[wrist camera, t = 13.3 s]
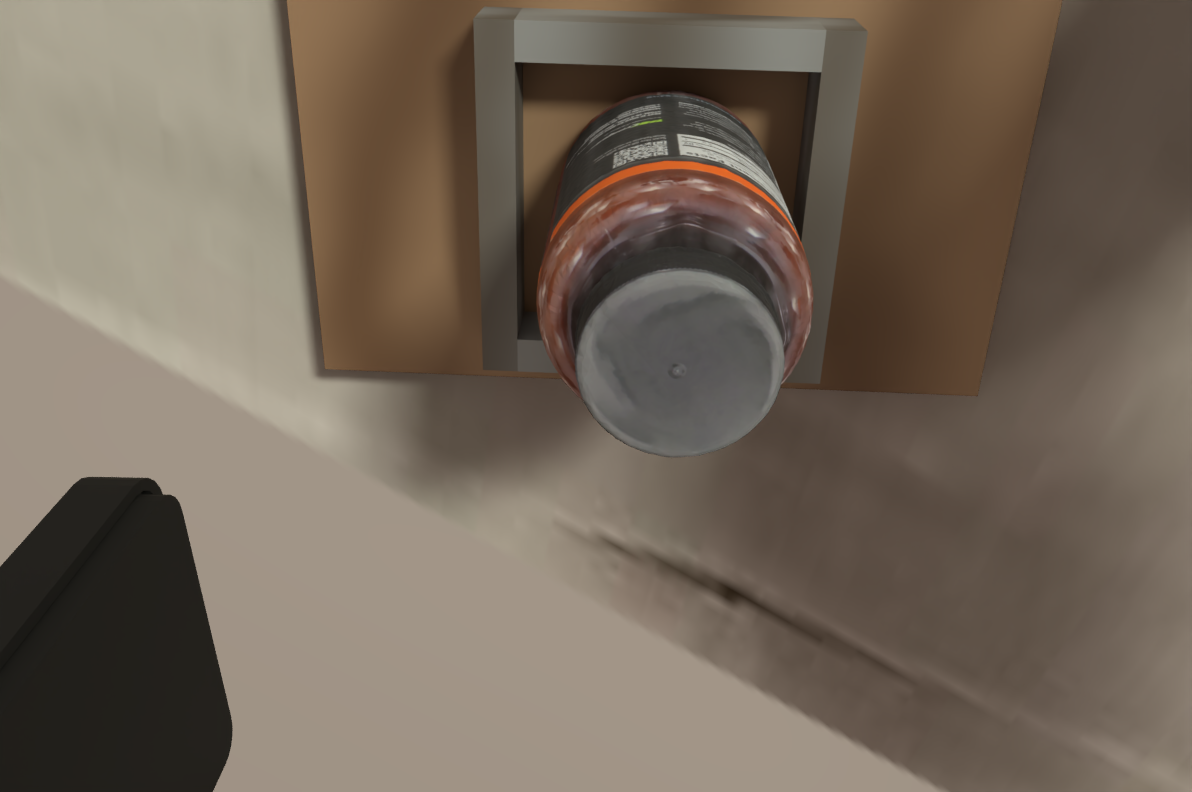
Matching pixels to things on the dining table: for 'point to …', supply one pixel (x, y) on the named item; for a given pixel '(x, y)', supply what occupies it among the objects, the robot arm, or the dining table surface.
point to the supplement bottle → (672, 276)
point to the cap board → (660, 63)
